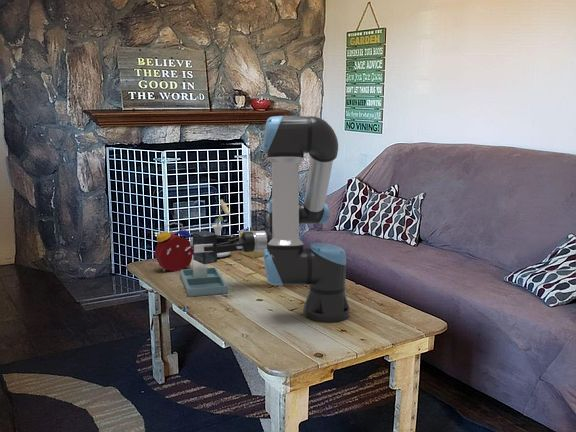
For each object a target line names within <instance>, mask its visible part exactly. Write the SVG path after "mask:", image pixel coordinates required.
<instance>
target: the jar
mask: <svg viewBox="0 0 576 432" xmlns="http://www.w3.org/2000/svg"><path fill="white" fill-rule="evenodd" d="M191 262H192V269H193V278H200V277H207V268H208V264H205V265H204V264H202V263H200V262H197V261H195V260H193V255H192V260H191Z"/></svg>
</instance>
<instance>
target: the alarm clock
mask: <svg viewBox="0 0 576 432" xmlns="http://www.w3.org/2000/svg"><path fill="white" fill-rule="evenodd" d="M174 224H175V225H179V226H181V229H179V230H178V231H176V234H173V230H171V229H170V231H169V232H168V231H166V227H169V226H172V225H174ZM183 227H184V226H183V223H178V222H171V223H169V224H166V225H165V226H164V227H163V228H164V229H163V230H164V231H160V233H159V234H157V237H156V242H157V244H156V247H155V250H154V253H153V255H154V256H155V259H156V261H157V262H158V264H159V266H160V267H161V268H163V269H162V272H166V271H170V272H181V271H180V270H183V269H186V268H187V269H188V267H189V266H191V262H192V255H193V246H191V245H190V239H188V238H192V237H191V233H190V232H188V230H187V229H186V228H183ZM177 234H178V235H177Z"/></svg>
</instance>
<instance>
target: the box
mask: <svg viewBox="0 0 576 432" xmlns="http://www.w3.org/2000/svg"><path fill="white" fill-rule="evenodd" d="M192 238H193V246H192V248H193V260H195V261H197V262H200V263H202V264H204V265H205V264H207V265H208V264H209V265H210V264H215V263H217V262H218V257H217V253H216V252H200V253H194V245H201V244H213V243H216V244H217V234H215V232H214V233H213V232H211V231H208V230H199V231H193V232H192Z"/></svg>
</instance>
